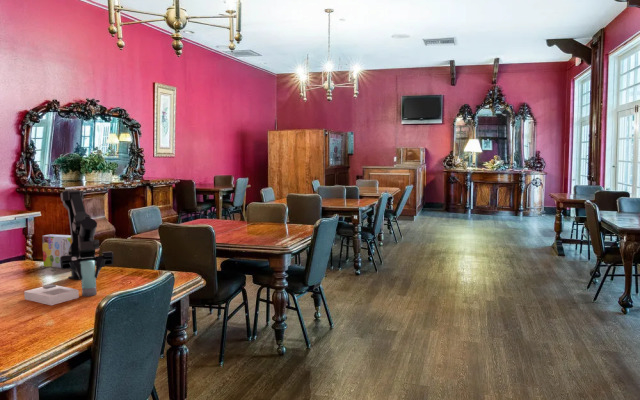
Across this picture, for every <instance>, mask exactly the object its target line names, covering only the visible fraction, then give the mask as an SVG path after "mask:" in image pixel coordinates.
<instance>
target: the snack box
mask: <svg viewBox="0 0 640 400" xmlns="http://www.w3.org/2000/svg"><path fill="white" fill-rule="evenodd" d="M41 236H42V237H41V239H42V240H41V241H42V242H41V243H42V259H43V261H42V262H43V263H42V264H43V267H45V268H47V267H48V268H57V269H58V268H59V269H61V263H60V257H61V256H63V255H68V252H69V248H70V246H71V244H72V239H71V234H70V235H69V234H53V233H52V234H51V233H50V234H45V235H41Z"/></svg>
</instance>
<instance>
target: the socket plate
mask: <svg viewBox="0 0 640 400" xmlns="http://www.w3.org/2000/svg"><path fill="white" fill-rule="evenodd" d="M23 292H24V294H23V295H24V300H26V301H31V302H36V303H39V304H43V305H48V306H54V305H57V304H58V305H59V304H60V303H64V302H69V301H72V300H76V299H80V296H79V295H80V293H79V289H76V288H72V287H67V286H61V285H56V284H47V285H43V286H41V287H37V288H32V289H28V290H24V291H23Z"/></svg>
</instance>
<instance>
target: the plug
mask: <svg viewBox="0 0 640 400" xmlns="http://www.w3.org/2000/svg"><path fill="white" fill-rule="evenodd" d="M80 263H81V279H82V280H80V281H81V296H82V297H87V298H88V297H94V296H96V295H97V292H98V291H97V278H96V262H95V260H84V261H81V262H80Z"/></svg>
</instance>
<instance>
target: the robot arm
mask: <svg viewBox="0 0 640 400" xmlns="http://www.w3.org/2000/svg"><path fill="white" fill-rule="evenodd" d="M60 199H61V200H60V201H61V202H62V205H63V207H64V208H65V209H66V210H67V213H68V214H67V215H68V221H69V230H70V235H71V239H72V244H71V246H70V248H69V252H68V255H63V256H61V257H60V263H61V268H60V269H61V270H68V269H69V270H70V271H71V275H70V276H68V277H67V279H71V280H72V279H73V280H77V281H78V280H80V281H81V280H82V279H81V263H80V262H81V261H84V260H95V273H96V279H98V277H99V274H100V271H101V270H102V268H104V267H105V266H111V265H114V263H115V262H114V252H113V251H102V254H101V255H98V256H96V249H100V240H99V239H95V235H96V232H97V231H96V230H97V228H98V222H97V220H95V219H94V218H92V217H91V215H89V214H88V213H87V212H86V208H85V204H84V191H82V190H80V189H67V190H66V189H65V190H63V192H61V193H60Z"/></svg>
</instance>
